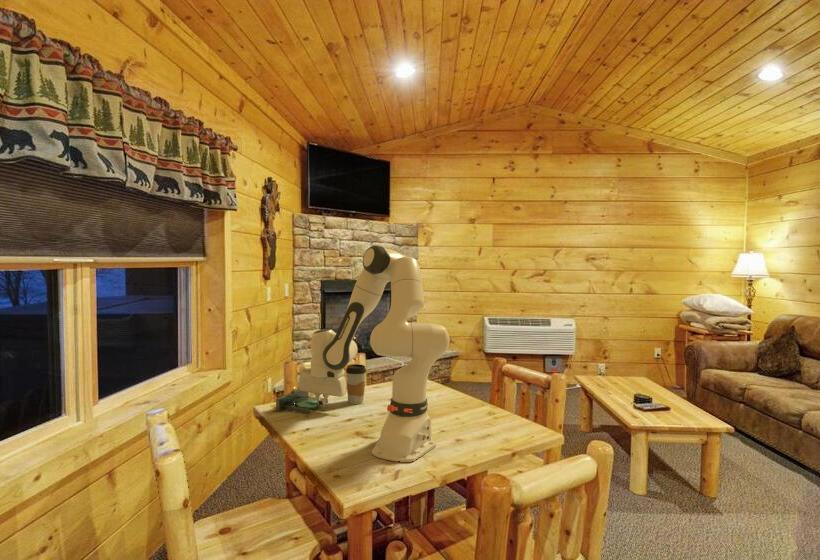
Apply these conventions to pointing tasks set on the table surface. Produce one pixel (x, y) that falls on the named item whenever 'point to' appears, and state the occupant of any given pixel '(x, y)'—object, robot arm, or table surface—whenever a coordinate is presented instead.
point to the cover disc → (307, 403)
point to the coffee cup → (355, 383)
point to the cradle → (292, 401)
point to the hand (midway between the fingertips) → (321, 404)
